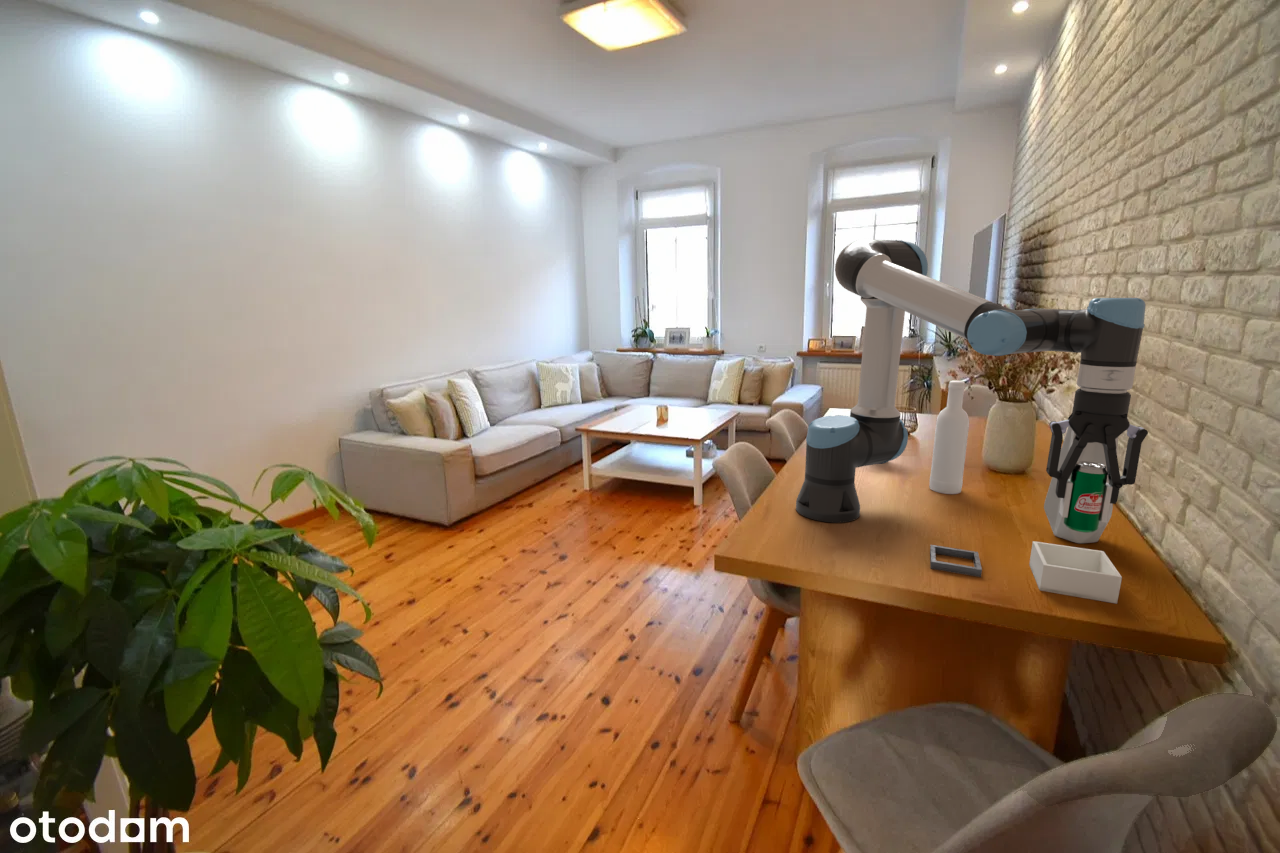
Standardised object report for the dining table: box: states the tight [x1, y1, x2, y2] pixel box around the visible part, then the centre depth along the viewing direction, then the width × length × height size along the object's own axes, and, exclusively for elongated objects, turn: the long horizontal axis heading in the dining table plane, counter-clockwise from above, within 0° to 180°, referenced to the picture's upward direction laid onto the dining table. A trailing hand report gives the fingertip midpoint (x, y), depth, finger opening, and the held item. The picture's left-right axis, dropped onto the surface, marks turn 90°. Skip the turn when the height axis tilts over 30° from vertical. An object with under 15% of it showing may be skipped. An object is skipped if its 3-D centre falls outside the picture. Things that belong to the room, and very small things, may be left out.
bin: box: [1028, 540, 1123, 604], centre depth 106 cm, size 11×11×5 cm
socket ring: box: [929, 544, 983, 578], centre depth 114 cm, size 9×9×2 cm
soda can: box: [1064, 461, 1108, 533], centre depth 103 cm, size 5×5×12 cm
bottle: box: [928, 380, 970, 495], centre depth 154 cm, size 8×8×30 cm
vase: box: [1043, 426, 1119, 544], centre depth 123 cm, size 12×12×33 cm
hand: (1082, 516), depth 104 cm, fingers closed on soda can, 5 cm apart
